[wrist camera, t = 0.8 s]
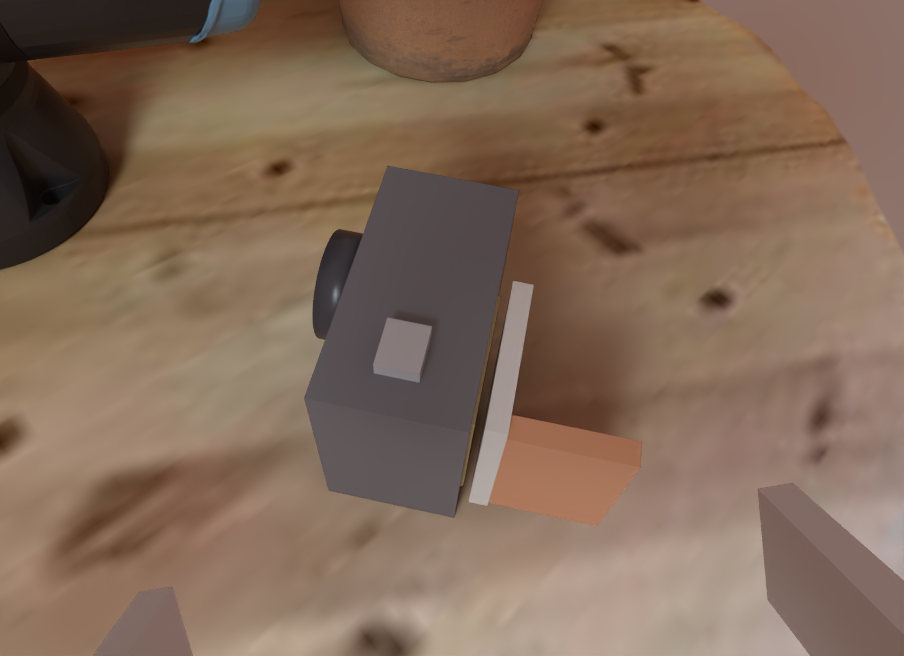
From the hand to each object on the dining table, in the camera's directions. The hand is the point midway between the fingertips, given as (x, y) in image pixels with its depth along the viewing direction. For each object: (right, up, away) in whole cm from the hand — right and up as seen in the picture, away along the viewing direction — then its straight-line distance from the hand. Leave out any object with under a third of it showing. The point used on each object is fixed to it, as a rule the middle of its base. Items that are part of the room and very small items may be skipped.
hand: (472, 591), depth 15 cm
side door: (+5, -1, +23) cm, 24 cm away
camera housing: (-3, +2, +26) cm, 27 cm away
